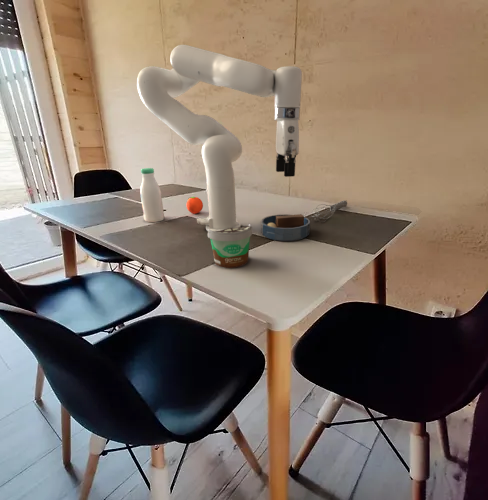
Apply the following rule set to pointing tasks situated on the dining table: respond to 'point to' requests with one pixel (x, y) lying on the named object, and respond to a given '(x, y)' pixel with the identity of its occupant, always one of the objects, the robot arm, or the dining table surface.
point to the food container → (230, 246)
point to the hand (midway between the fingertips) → (284, 173)
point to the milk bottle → (151, 197)
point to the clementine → (194, 205)
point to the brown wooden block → (290, 221)
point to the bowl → (284, 230)
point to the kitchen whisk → (332, 208)
